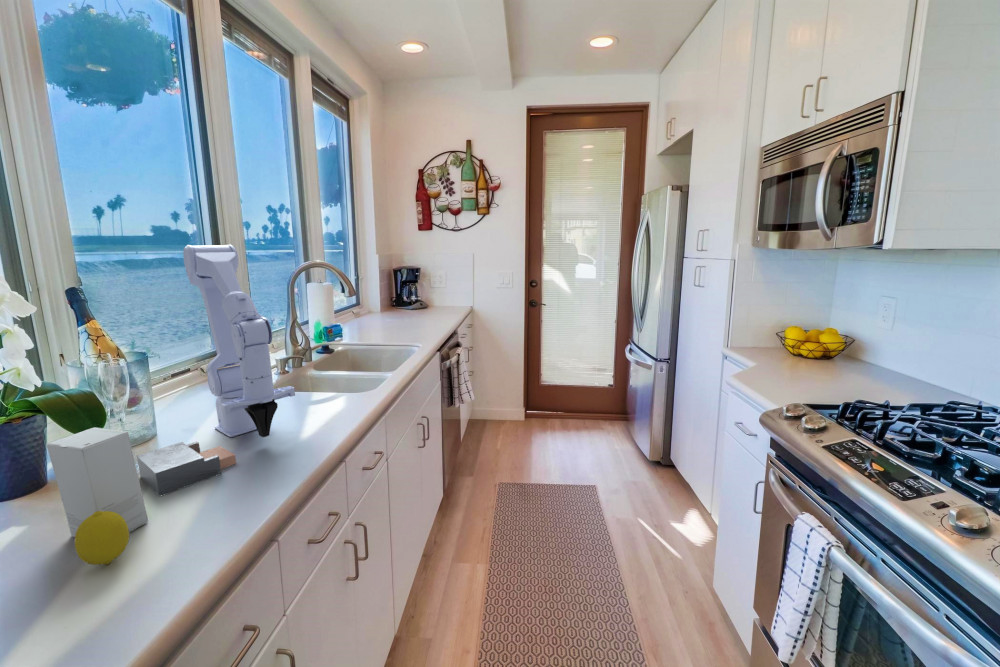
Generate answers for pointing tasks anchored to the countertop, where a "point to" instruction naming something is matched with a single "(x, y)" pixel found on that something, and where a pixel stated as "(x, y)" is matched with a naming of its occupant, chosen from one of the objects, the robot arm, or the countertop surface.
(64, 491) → the skincare box
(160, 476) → the low gray notched block
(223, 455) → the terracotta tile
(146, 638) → the countertop surface
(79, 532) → the lemon
